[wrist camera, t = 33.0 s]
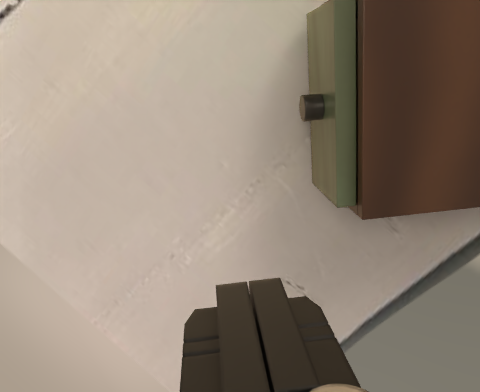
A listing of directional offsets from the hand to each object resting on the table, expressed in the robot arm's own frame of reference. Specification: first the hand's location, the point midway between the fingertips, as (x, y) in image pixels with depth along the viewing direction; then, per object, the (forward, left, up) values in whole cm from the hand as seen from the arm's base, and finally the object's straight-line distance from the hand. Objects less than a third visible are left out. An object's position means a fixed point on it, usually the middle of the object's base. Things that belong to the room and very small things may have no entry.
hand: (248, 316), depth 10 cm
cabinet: (+15, -5, -21) cm, 26 cm away
